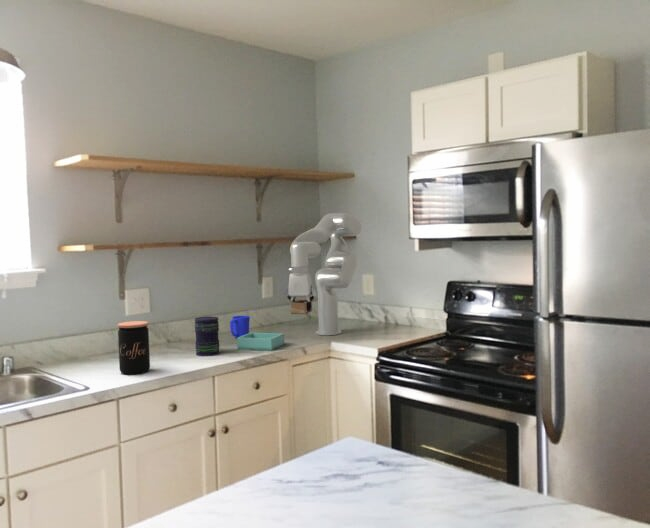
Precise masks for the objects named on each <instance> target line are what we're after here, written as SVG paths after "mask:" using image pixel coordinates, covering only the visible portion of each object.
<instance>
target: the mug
mask: <svg viewBox="0 0 650 528" xmlns="http://www.w3.org/2000/svg"><path fill="white" fill-rule="evenodd" d="M250 320H251V319H250V315H236V316H232V317H231V320H230V321H229V325H230V334H231V335H232V337H234V338H236V339H237V338H238V337H241V336H243V335H246V334H249V333H250Z"/></svg>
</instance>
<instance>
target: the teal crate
mask: <svg viewBox="0 0 650 528" xmlns="http://www.w3.org/2000/svg"><path fill="white" fill-rule="evenodd" d="M285 345H286V344H285V333H283V332H282V333H279V332H278V333H277V332H249V334H246V335H243V336H241V337H238V338H236V347H237V350H244V351H263V352H264V351H265V352H266V351H267V352H272V351H275V350H277V349H279V348H280V347H282V346H285Z"/></svg>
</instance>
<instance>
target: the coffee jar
mask: <svg viewBox="0 0 650 528" xmlns="http://www.w3.org/2000/svg"><path fill="white" fill-rule="evenodd" d="M148 325H149V322H148V321H146V320H145V321H144V320H132V321H124V322H120V323H117V327H118V331H117V338H118V339H117V340H118V361H119V371H120V372H121V374H122V375H128V376H131V375H133V376H134V375H141V374H145V373H148V372H149V370H150V369H151V360H150V359H151V358H150V356H151V355H150V354H151V353H150V337H149V327H148Z"/></svg>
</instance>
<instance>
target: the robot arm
mask: <svg viewBox="0 0 650 528" xmlns="http://www.w3.org/2000/svg"><path fill="white" fill-rule="evenodd" d="M362 228H363V227H362V223H361V221H360V219H358V218H357V217H355V216H353V215H351V214H349V213H346V212H336V213H335V212H334V213H333V212H331V213H326V214H325V215H324V216H323V217H322V218H321V220H320V221H318V223H317V224H316V225H315V227H313V228H310V229H309V230H307V231H304V232H302V233H300V234H299V235H298V236H297V237H295V238H294V240H293V241H292V242H291V245H290V248H289V252H290V253H289V254H290V255H291V256H290V263H291V264H290V265H291V267H289V268H288V272H291V273H289V278H288V279H289V280H288V289H287V290H286V291H284V296H285V297H286V298H287V299H288V300H289V302H290V304H291V303H292V302H294V301H296V298H297V297H305V298H306V300H307V301H308V302H307V311H310V310H311V308H313V306H312V305H311V301H312V302H313V301H314V299H315V298H316V297H317V313H318V329H317V330H316V331H315V335H317V336H335V335H337V336H338V335H341V334H342V330H341V329H339V306H338V305H339V303H338V302H339V301H338V298H339V297H338V295H337V292H336V290H335V289H347V288H348V287H349V286H350V285H351V283H352V279H353V278H354V274H355V271H356V270H357V265H358V258H357V254H356V253H354V252H353V251H348V249H349V248H348V244H347V242H346V241H345V240H344V238H343V237H354V236H359V235H360V234H361V232H362ZM329 239H330V242H331V243H330V247H329V250H328V252H327V255H326V257H325V260H324V266H325V267H323V268H320V269H318V270H317V271H316V273H315V275H314V278H315V285H316V290H315V288H313V282H312V276H311V273H310V271H309V259H315V258H318V257H319V256H320V255H321V252H322V247H321V245H320V244H322V243H325V242H327V241H328V240H329Z"/></svg>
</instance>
